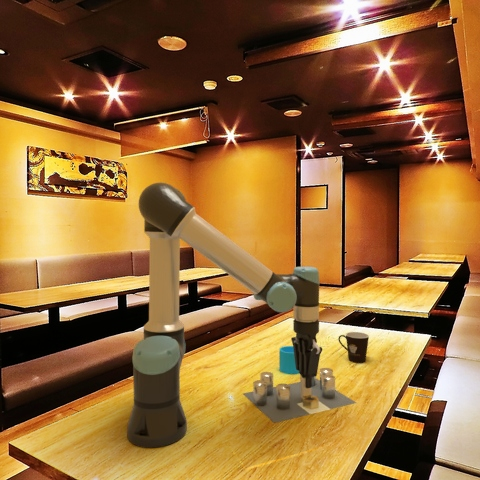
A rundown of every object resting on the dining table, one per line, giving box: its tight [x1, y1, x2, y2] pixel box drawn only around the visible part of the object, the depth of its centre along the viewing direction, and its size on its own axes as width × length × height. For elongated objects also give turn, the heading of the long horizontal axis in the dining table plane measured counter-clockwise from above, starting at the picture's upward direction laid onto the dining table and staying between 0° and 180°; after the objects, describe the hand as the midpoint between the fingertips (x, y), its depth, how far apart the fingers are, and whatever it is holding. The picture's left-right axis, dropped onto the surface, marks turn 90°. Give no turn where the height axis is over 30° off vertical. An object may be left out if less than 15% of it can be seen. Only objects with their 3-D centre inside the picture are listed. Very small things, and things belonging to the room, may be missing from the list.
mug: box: [278, 345, 299, 375], centre depth 144 cm, size 12×8×8 cm
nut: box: [303, 395, 319, 409], centre depth 115 cm, size 5×4×2 cm
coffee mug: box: [337, 331, 370, 364], centre depth 155 cm, size 12×9×10 cm
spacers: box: [252, 367, 336, 410], centre depth 121 cm, size 28×14×6 cm, turn 115°
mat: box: [242, 378, 357, 424], centre depth 120 cm, size 28×20×1 cm
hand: (305, 396), depth 118 cm, fingers closed
